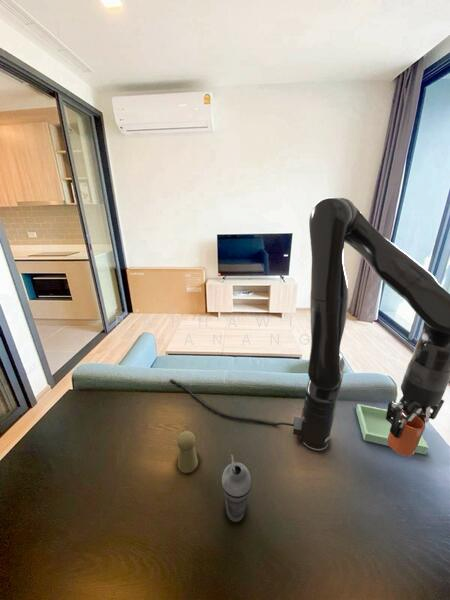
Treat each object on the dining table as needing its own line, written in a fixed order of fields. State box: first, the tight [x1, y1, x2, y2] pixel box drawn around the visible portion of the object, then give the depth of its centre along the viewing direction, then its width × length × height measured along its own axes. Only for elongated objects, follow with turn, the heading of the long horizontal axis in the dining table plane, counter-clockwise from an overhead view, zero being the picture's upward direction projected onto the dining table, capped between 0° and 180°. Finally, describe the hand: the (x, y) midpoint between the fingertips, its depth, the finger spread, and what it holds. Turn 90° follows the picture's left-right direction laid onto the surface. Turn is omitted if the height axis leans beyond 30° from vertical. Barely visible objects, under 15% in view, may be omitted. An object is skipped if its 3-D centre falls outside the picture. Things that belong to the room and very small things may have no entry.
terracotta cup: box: [387, 409, 426, 457], centre depth 62 cm, size 6×6×9 cm
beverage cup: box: [220, 453, 252, 523], centre depth 59 cm, size 7×7×20 cm
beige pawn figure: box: [176, 430, 199, 474], centre depth 72 cm, size 6×6×11 cm
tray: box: [355, 403, 429, 455], centre depth 85 cm, size 18×14×3 cm
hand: (405, 432), depth 62 cm, fingers closed on terracotta cup, 6 cm apart
